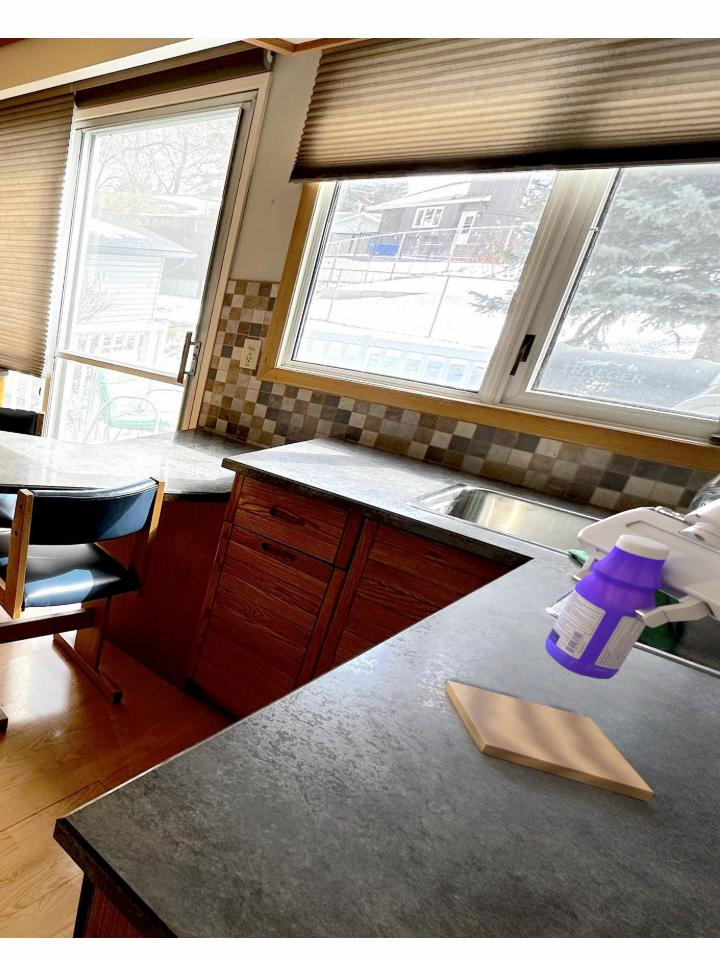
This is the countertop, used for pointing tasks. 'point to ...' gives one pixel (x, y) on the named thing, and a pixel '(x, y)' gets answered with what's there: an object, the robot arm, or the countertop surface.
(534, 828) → the countertop surface
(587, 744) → the board
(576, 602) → the bottle
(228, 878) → the countertop surface
